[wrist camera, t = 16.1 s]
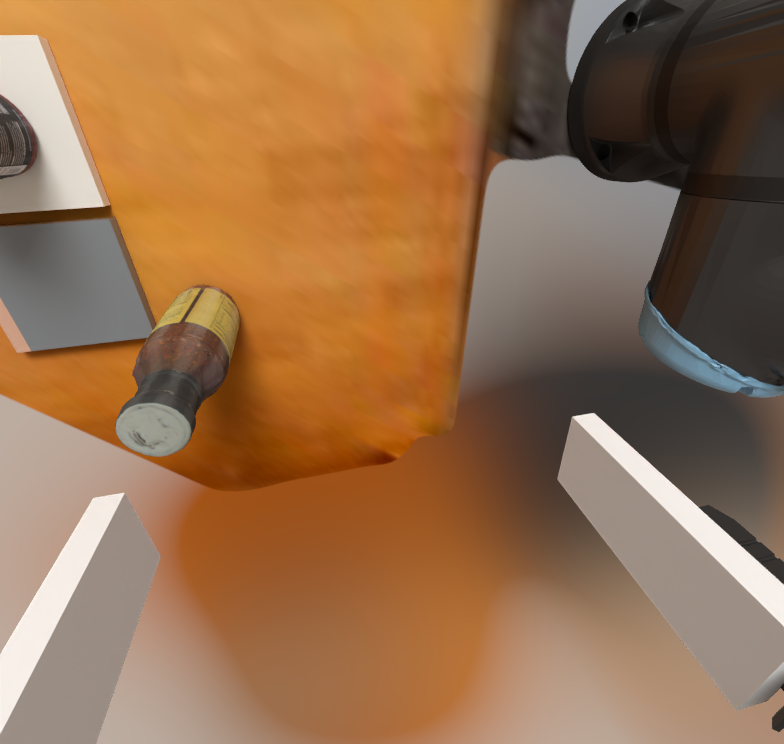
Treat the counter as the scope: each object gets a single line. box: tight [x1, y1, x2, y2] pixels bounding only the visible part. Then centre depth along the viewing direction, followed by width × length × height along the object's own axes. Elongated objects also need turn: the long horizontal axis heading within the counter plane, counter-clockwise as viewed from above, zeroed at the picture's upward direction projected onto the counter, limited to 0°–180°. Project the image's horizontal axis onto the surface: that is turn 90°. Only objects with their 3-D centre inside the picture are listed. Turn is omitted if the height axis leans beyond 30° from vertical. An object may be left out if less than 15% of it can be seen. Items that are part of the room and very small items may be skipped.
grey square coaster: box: [0, 217, 156, 353], centre depth 35 cm, size 12×11×1 cm
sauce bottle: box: [115, 285, 240, 457], centre depth 31 cm, size 6×6×20 cm
